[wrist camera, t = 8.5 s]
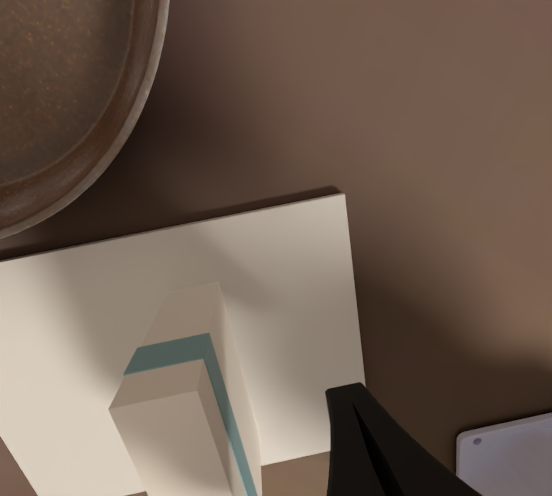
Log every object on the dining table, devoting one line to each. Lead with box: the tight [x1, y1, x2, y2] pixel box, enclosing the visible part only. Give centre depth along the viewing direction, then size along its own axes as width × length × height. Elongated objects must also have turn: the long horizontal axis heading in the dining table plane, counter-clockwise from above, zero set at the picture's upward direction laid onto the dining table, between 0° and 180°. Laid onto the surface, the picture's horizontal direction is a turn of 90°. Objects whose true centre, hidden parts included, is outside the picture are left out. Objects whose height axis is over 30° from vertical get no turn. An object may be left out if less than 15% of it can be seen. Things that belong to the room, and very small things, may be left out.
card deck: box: [108, 281, 262, 496], centre depth 12 cm, size 2×9×6 cm, turn 10°
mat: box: [0, 193, 366, 496], centre depth 15 cm, size 18×14×1 cm
